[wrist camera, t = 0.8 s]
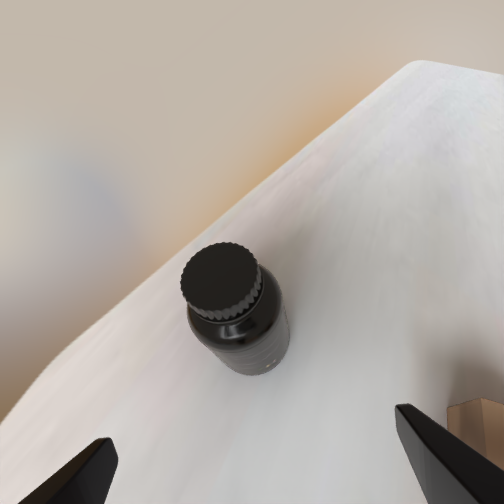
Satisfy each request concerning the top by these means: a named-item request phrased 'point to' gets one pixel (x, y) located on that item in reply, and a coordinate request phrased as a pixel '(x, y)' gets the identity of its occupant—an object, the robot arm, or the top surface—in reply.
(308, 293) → the top surface
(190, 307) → the supplement bottle
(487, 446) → the walnut block
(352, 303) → the top surface
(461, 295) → the top surface
